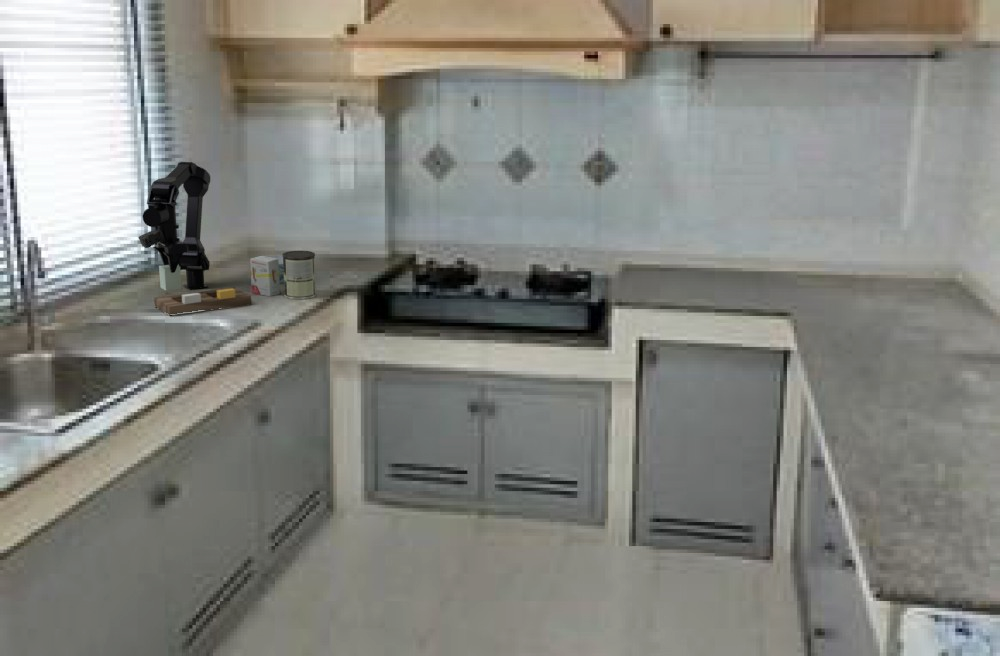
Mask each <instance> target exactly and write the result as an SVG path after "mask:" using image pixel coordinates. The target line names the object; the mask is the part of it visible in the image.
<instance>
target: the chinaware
mask: <svg viewBox="0 0 1000 656" xmlns="http://www.w3.org/2000/svg"><path fill="white" fill-rule="evenodd" d="M265 256H266V257H271V258H276V259H277V260H279V284H281V283H284V269H283V255H279V254H278V255H276V254H271V255H265Z"/></svg>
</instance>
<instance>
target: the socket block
mask: <svg viewBox="0 0 1000 656" xmlns="http://www.w3.org/2000/svg"><path fill="white" fill-rule="evenodd" d="M153 299H154V307H155V306H156V307H157V308H159V309H160V310H162V311H164V312H166V313H168V314H169V315H170V314H177V313H183V312H192V311H198V310H211V309H218V310H220V309H219V308H225V309H229V308H228V307H232V308H237V307H238V306H239V307H244V306H252V304H253V303H252V295H251V294H249V293H247V292H245V291H243V290H240V289H239V288H236V287H234V286H233V287H226V288H218V289H209V290H203V291H202V290H201V291H195V292H187V293H181V294H179V293H178V294H172V295H165V296H158V297H154V298H153ZM156 307H155V308H156ZM157 308H156V309H157ZM159 309H158V310H159ZM160 310H159V311H160ZM162 311H161V312H162ZM211 311H212V310H211ZM164 312H163V313H164Z"/></svg>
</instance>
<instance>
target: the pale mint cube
mask: <svg viewBox="0 0 1000 656" xmlns="http://www.w3.org/2000/svg"><path fill="white" fill-rule="evenodd" d="M181 271H182V270H180V267H179V265H178V266H177V268H176V271H175V272H174V273H172V272H171V270H170V266H169V265H158V272H159V284H160V285H159V286H160V287H159V288H160V289H162V290H164V291H165V292H169V291H174V290H182V289H183V288H182V287H183V284H182V272H181Z"/></svg>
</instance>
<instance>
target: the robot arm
mask: <svg viewBox="0 0 1000 656" xmlns="http://www.w3.org/2000/svg"><path fill="white" fill-rule="evenodd" d="M210 183H211V175H210V172H208V171H207V170H206V169H205V168H203V167H201V166H199V165H197V164H196V163H195V162H192V161H179V162H178V163H177V166H176V167H174V169H172V171H170V172H169V174H168V175H166V176H165V177H162V178H157V179H156V180H154V181H153V182H152V184H151V185H150V187H149V191H148V197H147V201H146V205H147V206H148V207H147V208H146V209H145V210H144V211H143V213H142V220H143V222H144V224H145V225H146V226H147V227H150V228H154V229H153V230H150V231H148V232H146V233H144V234H141V235H139V236H137V237H138V240H139V242H140V244H141V247H143V248H145V249H149V248H151V246H153V247H152V248H153V249H154V250H156V252H158V254H159V256H160V259H161V262H162V264H163V265H169V266H170V270H171V272H172V273H174V272H175V271H176V268H177V266H179V267H180V270H181V271H185V277H186V284H182V287H184V288H186V289H188V290H190V291H191V290H200V289H207V288H209V285H207V284H205V273H204V272H205V271H209V270H210V266H211V265H210V264H211V263H210V260H209V258H208V257H207V255H206V252H205V251H206V250H205V247H204V245H203V243H202V242H201V235H202V234H201V232H202V231H201V230H202V216H203V215H202V214H203V200H204V196H205V195H206V194H207V193H208V191H209V187H210V186H209V185H210ZM181 186H183V187H182V188H183V189H184V191H185V192H186V194H187V201H186V202H187V203H186V219H185V220H186V221H185V231H184V232H185V233H184V234H185V236H184V239H183V241H180V240H181V239H180V237H178V232H177V231H178V230H179V228H180V226H179V224H177V213H176V206H177V205H178V203H177V200H178V196H179V194H180V189H179V188H180V187H181ZM177 229H178V230H177ZM163 265H162V266H163Z"/></svg>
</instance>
